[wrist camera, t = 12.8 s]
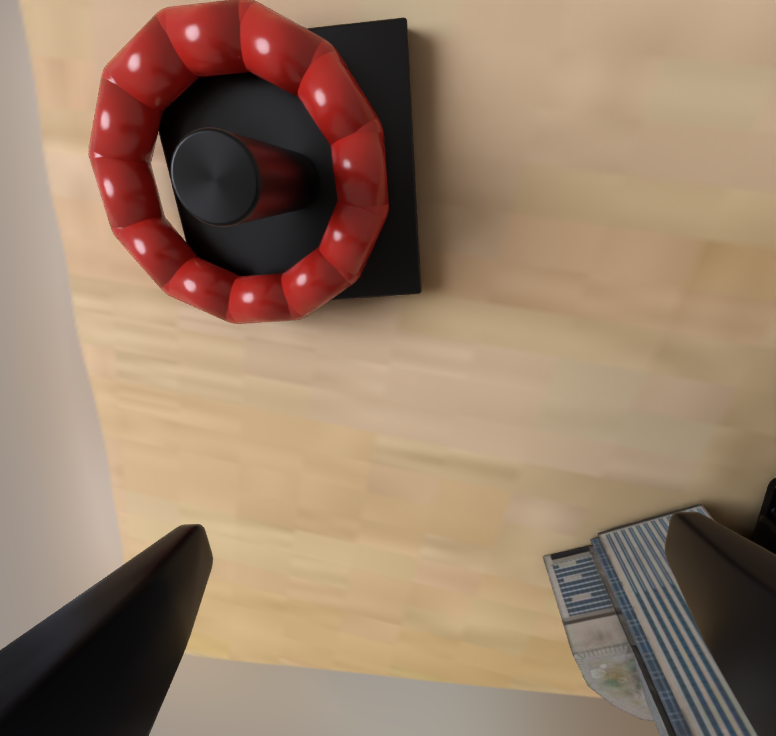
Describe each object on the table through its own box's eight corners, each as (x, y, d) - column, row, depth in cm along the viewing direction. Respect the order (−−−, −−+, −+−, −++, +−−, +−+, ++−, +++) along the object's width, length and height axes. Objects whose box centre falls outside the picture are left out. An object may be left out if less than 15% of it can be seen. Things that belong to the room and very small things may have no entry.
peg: (406, 26, 15) (408, -130, 7) (420, 288, 18) (430, 358, 11) (152, 54, 15) (-79, -64, 8) (212, 303, 19) (88, 379, 12)
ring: (374, -3, 14) (370, -29, 12) (397, 306, 18) (396, 319, 16) (73, 31, 14) (30, 11, 13) (158, 322, 18) (133, 336, 17)
